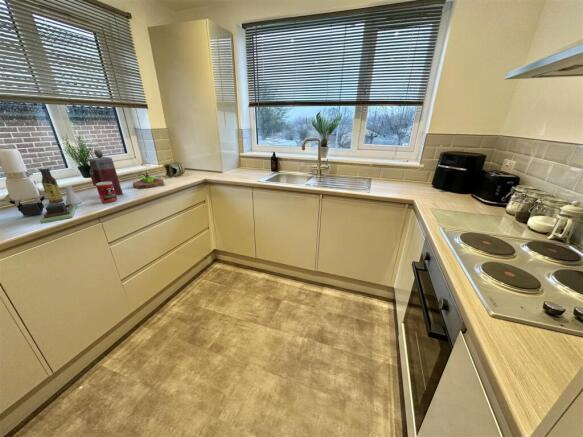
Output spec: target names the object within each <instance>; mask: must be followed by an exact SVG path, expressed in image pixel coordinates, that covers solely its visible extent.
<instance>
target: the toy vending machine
mask: <svg viewBox="0 0 583 437" xmlns="http://www.w3.org/2000/svg"><path fill="white" fill-rule="evenodd" d="M94 155H95V156H96V157H91V158H88V162H89V167H90V169H89V176H90V179H91V182H92V185H93V186H94V187H96V184H97V183H100V182H107V181H110V182H112V184H113V187H114V190H115V193H116V197H117V196H121V195H124V193H123V190H122V187H121V183H120V181H119V180H120V179H119V176H118V174H117V171H116V167H115V164H114V161H113V158H112V157H111V156H103V151H102V150H100V149H95V150H94Z"/></svg>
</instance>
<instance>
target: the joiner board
mask: <svg viewBox="0 0 583 437" xmlns="http://www.w3.org/2000/svg"><path fill="white" fill-rule="evenodd" d="M65 206H66V209H67V211H66V212H60V213H54V214H48V213H47V211H46V212H45V213H44V215H43V217H42V218H41V219H40V223H41V224H45V223H51V222H57V221H62V220H69V219H73V217H74V215H75V212H76V211H77V207H78V205H77V204H68V205H67V204H65Z"/></svg>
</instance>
